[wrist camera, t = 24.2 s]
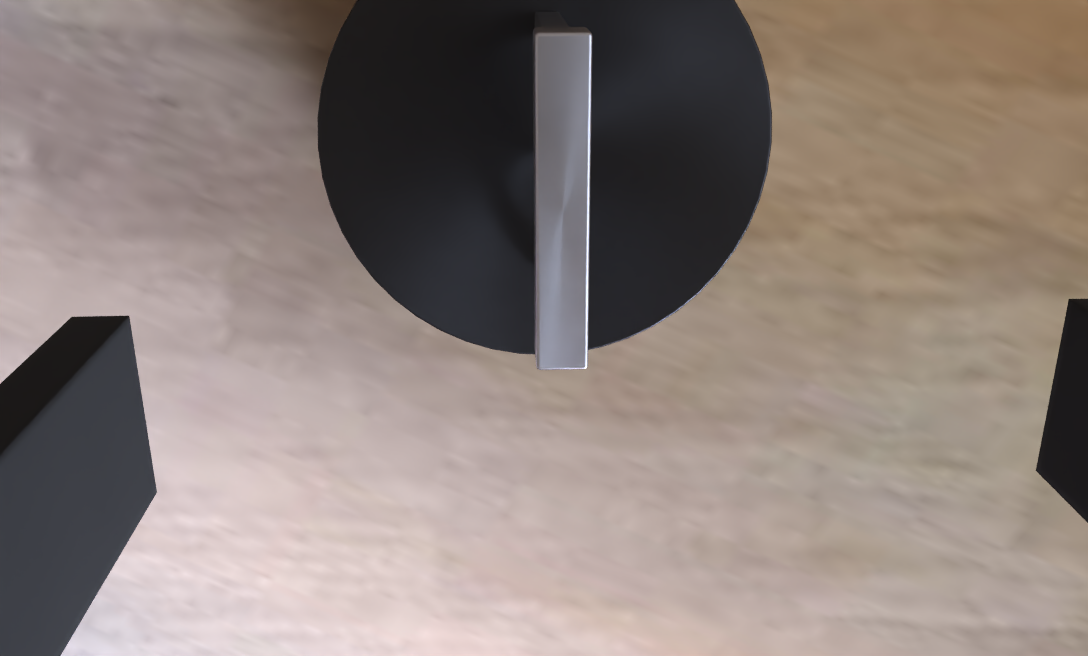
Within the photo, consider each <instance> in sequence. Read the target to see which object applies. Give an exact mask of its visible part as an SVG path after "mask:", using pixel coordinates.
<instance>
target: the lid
mask: <svg viewBox="0 0 1088 656" xmlns="http://www.w3.org/2000/svg"><path fill="white" fill-rule="evenodd" d="M771 142H772V110H771V102H770V93H769V85H768V80H767V76H766V73H765V69H764V65H763V61H762V57H761V54H760V51H759V49H758V46H757V44H756V41H755V39H754V36H753V34H752V31H751V29H750V26H749V25H748V23H747V21H746V19H745V18H744V16H743V14H742V12H741V11H740V9H739V7H738V5H737V4H736V2H735V0H357V1H356V3H355V5H354V7H353V8H352V10H351V12H350V13H349V15H348V17H347V19H346V20H345V22H344V24H343V26H342V27H341V29H340V32H339V34H338V36H337V39H336V41H335V44H334V46H333V49H332V51H331V54H330V56H329V59H328V63H327V67H326V71H325V75H324V78H323V82H322V86H321V93H320V102H319V110H318V151H319V158H320V165H321V171H322V178H323V181H324V185H325V188H326V192H327V195H328V199H329V202H330V206H331V208H332V210H333V213H334V215H335V217H336V220H337V222H338V224H339V227H340V229H341V231H342V233H343V235H344V237H345V238H346V240H347V242H348V243H349V245H350V247H351V248H352V250H353V252H354V253H355V255H356V257H357V258H358V259H359V261H360V262H361V263H362V264H363V266H364V267H365V268H366V270H367V271H368V272H369V273H370V275H371V276H372V277H373V279H374V280H375V281H376V282H377V283H378V284H379V285H380V286H381V287H382V288H383V289H384V290H385V291H386V292H387V293H388V294H389V295H390V296H391V297H392V298H393V299H395V300H396V301H397V302H398V303H400V304H401V305H402V306H404V307H405V308H406V309H408V310H409V311H410V312H411V313H413V314H414V315H415V316H417V317H418V318H420V319H422V320H424V321H425V322H427V323H429V324H430V325H432V326H434V327H435V328H437V329H439V330H441V331H443V332H445V333H448V334H450V335H452V336H455V337H457V338H459V339H461V340H464V341H466V342H470V343H473V344H476V345H480V346H483V347H487V348H490V349H495V350H501V351H507V352H513V353H519V354H535V358H536V367H537V369H539V370H554V369H585V368H587V366H588V350H589V349H594V348H599V347H603V346H606V345H609V344H612V343H615V342H618V341H621V340H624V339H627V338H629V337H632V336H634V335H636V334H638V333H640V332H642V331H644V330H646V329H648V328H651V327H653V326H654V325H656V324H657V323H659V322H661V321H662V320H664V319H665V318H667V317H669V316H670V315H672V314H673V313H675V312H676V311H678V310H679V309H680V308H681V307H683V306H684V305H685V304H686V303H687V302H689V301H690V300H691V299H692V298H694V297H695V296H696V295H697V294H698V293H699V292H700V291H701V290H702V289H703V288H704V287H705V286H706V285H707V284H708V283H709V282H710V281H711V280H712V279H713V278H714V277H715V276H716V275H717V274H718V272H719V271H720V270H721V268H722V267H723V266H724V264H725V263H726V262H727V260H728V259H729V258H730V256H731V255H732V254H733V252H734V251H735V249H736V247H737V246H738V244H739V242H740V240H741V239H742V237H743V235H744V233H745V232H746V230H747V228H748V226H749V224H750V222H751V219H752V217H753V214H754V212H755V210H756V207H757V205H758V203H759V200H760V197H761V193H762V189H763V186H764V182H765V179H766V175H767V171H768V164H769V157H770V150H771Z"/></svg>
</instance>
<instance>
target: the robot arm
mask: <svg viewBox="0 0 1088 656" xmlns="http://www.w3.org/2000/svg"><path fill="white" fill-rule="evenodd" d="M1036 471H1037V472H1038V473H1039V474H1040V475H1041V476H1042V477H1043V478H1044V479H1045V480H1046V481H1047V482H1048V483H1049V484H1050V485H1051V486H1052V487H1053V488H1054V489H1055V490H1056V491H1057V492H1058V493H1059V494H1060V495H1061V496H1062V497H1063V498H1064V499H1065V500H1066V501H1067V502H1068V503H1069V504H1070V505H1071V506H1072V507H1073V508H1074V509H1075V510H1076V511H1077V512H1078V513H1079V514H1080V515H1081V516H1082V517H1083V518H1084V519H1085V520H1086V521H1087V523H1088V299H1069V301H1068V307H1067V312H1066V317H1065V322H1064V327H1063V333H1062V338H1061V343H1060V348H1059V353H1058V359H1057V364H1056V369H1055V374H1054V379H1053V385H1052V390H1051V395H1050V400H1049V405H1048V411H1047V416H1046V421H1045V426H1044V431H1043V437H1042V442H1041V447H1040V452H1039V457H1038V463H1037V468H1036ZM156 493H157V491H156V484H155V478H154V471H153V465H152V459H151V452H150V446H149V440H148V433H147V427H146V420H145V414H144V408H143V401H142V395H141V389H140V382H139V376H138V369H137V363H136V357H135V350H134V344H133V338H132V331H131V325H130V318H129V316H93V317H71V318H70V319H69V320H68V321H67V322H66V323H65V324H64V325H63V326H62V327H61V328H60V329H58V330H57V331H56V332H55V333H54V334H53V335H52V336H51V337H50V338H49V339H48V340H47V341H46V342H45V343H44V344H42V345H41V346H40V347H39V348H38V349H37V350H36V351H35V352H34V353H33V354H32V355H31V356H30V357H29V358H27V359H26V360H25V361H24V362H23V363H22V364H21V365H20V366H19V367H18V368H17V369H16V370H15V371H14V372H13V373H11V374H10V375H9V376H8V377H7V378H6V379H5V380H4V381H3V382H2V383H1V384H0V656H60V655H61V654H62V652H63V650H64V649H65V647H66V645H67V644H68V642H69V640H70V639H71V637H72V635H73V633H74V632H75V630H76V628H77V627H78V625H79V623H80V622H81V620H82V618H83V617H84V615H85V613H86V611H87V610H88V608H89V606H90V605H91V603H92V601H93V600H94V598H95V596H96V595H97V593H98V591H99V589H100V588H101V586H102V584H103V583H104V581H105V579H106V578H107V576H108V574H109V573H110V571H111V569H112V567H113V566H114V564H115V562H116V561H117V559H118V557H119V556H120V554H121V552H122V550H123V549H124V547H125V545H126V544H127V542H128V540H129V539H130V537H131V535H132V534H133V532H134V530H135V528H136V527H137V525H138V523H139V522H140V520H141V518H142V517H143V515H144V513H145V512H146V510H147V508H148V506H149V505H150V503H151V501H152V500H153V498H154V496H155V495H156Z"/></svg>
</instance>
